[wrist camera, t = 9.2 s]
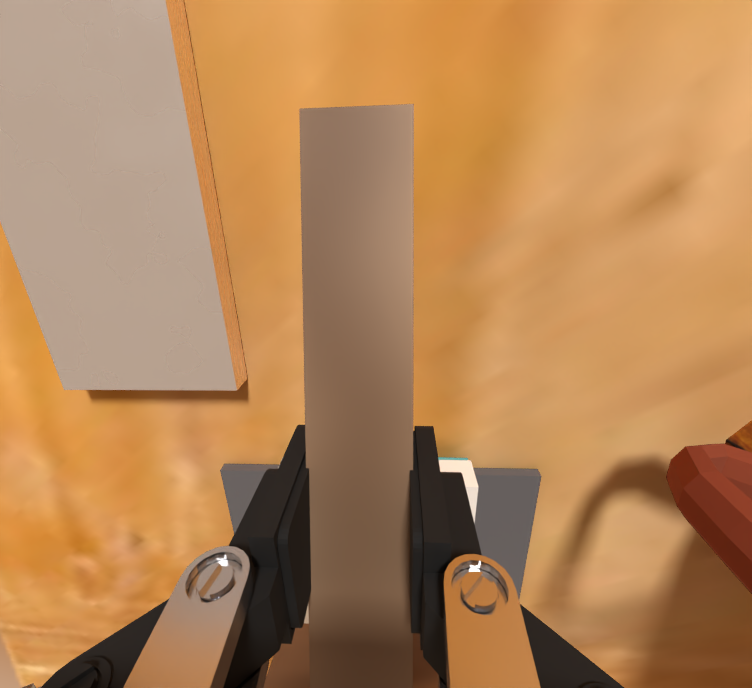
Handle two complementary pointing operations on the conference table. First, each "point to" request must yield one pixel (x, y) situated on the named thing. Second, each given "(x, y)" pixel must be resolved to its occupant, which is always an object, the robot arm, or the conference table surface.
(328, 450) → the brown t-shaped post
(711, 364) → the conference table surface
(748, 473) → the mug
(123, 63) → the tool rest
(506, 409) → the conference table surface
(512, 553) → the mat
